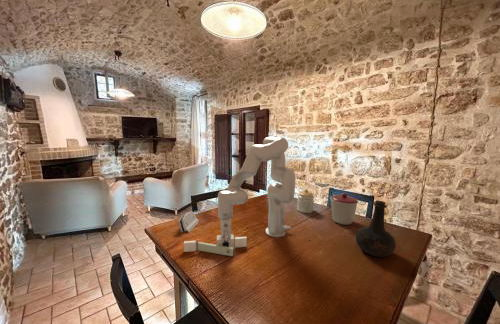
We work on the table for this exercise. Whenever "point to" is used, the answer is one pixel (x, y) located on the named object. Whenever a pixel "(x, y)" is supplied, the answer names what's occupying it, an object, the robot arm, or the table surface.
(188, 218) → the hinge
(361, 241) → the glass bottle
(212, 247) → the door
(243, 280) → the table surface
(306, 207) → the jar
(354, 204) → the canister
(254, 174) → the robot arm
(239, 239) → the notched cream block
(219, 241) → the block
